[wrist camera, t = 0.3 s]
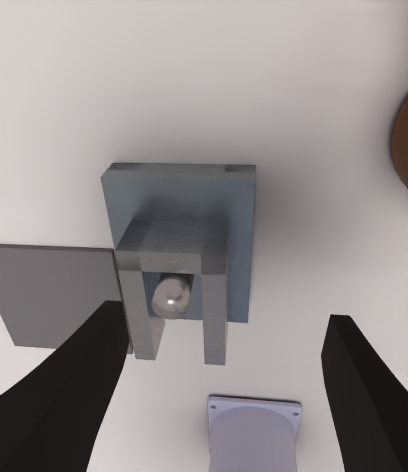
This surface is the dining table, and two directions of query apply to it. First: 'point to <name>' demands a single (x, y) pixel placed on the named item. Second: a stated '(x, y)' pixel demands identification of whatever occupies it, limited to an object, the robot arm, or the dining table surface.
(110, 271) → the mat
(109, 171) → the metal base with post
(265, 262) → the dining table surface
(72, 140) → the dining table surface
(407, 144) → the mug
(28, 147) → the dining table surface
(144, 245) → the gray tabletop stand
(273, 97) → the dining table surface
